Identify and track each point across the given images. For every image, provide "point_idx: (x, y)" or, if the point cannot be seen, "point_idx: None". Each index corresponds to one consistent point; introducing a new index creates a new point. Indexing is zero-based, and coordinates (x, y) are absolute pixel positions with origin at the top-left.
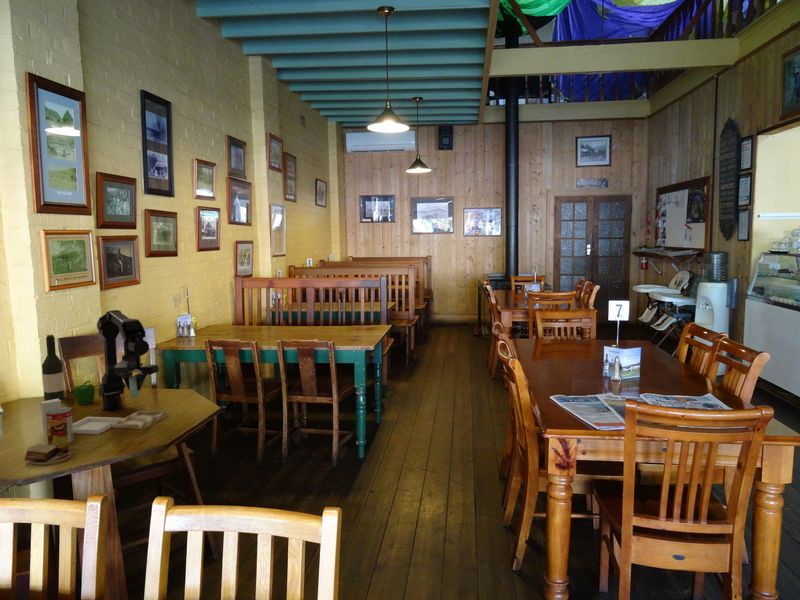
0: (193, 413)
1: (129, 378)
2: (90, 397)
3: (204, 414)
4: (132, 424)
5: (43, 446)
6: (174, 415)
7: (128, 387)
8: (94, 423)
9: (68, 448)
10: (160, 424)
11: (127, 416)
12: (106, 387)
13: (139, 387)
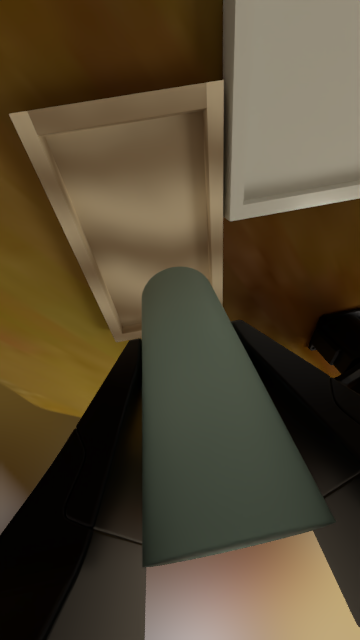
0: (50, 368)
1: (291, 502)
2: None
3: (4, 372)
4: (82, 116)
5: None
6: (91, 339)
7: (254, 338)
8: (352, 143)
9: None
10: (27, 242)
11: (222, 251)
12: None
13: (116, 372)
